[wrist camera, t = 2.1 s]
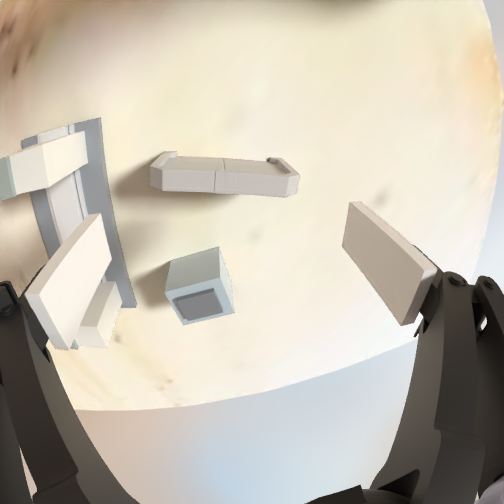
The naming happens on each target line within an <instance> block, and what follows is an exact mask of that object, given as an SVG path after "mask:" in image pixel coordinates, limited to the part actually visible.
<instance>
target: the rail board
mask: <svg viewBox="0 0 504 504" xmlns="http://www.w3.org/2000/svg"><path fill="white" fill-rule="evenodd" d="M81 131H85V141H86V150H87V158H88V163H87V164H85V165H83V166H82V167H80V168H78V169H77V170H75V171H73V172H72V173H70V174H69V175H67V176H65V177H64V178H62V179H61V180H59V181H58V182H56V183H55V184H53V185H52V186H50V187H48V188H43V189H39V190H34V191H30V194H31V198H32V202H33V206H34V210H35V214H36V218H37V221H38V225H39V228H40V231H41V235H42V238H43V241H44V244H45V247H46V250H47V253H48V255H49V258H50V259H51V257H52V256H53V255H54V254H55V252H56V251H57V250H58V249H59V248H60V246H61V245H62V244H63V243H64V242H65V240H66V239H67V238H68V237H69V236H70V235H71V234H72V232H73V231H74V230H75V229H76V228H77V227H78V226H79V225H80V224H81V222H82V221H83V220H84V219H85V218H86V217H87V216H88V215H91V214H99V213H101V216H102V221H103V225H104V230H105V234H106V238H107V242H108V246H109V250H110V254H111V258H112V260H111V261H110V263H109V265H108V267H107V269H106V271H105V273H104V275H103V277H102V279H101V281H100V283H99V285H100V284H101V282H103V283H106V282H107V281H115V282H116V285H117V288H118V291H119V294H120V297H121V300H122V305H121V308H136V305H137V303H136V299H135V296H134V293H133V290H132V286H131V283H130V279H129V276H128V272H127V269H126V265H125V261H124V257H123V253H122V249H121V245H120V241H119V237H118V232H117V228H116V223H115V218H114V213H113V208H112V203H111V197H110V191H109V185H108V179H107V172H106V164H105V156H104V148H103V138H102V126H101V118H96V119H92V120H87V121H83V122H79V123H76V124H72V125H68V126H64V127H61V128H57V129H54V130H51V131H48V132H44V133H41V134H39V135H36V136H33V137H30V138H27V139H24V140H22V141H21V142H22V149H24V148H27V147H29V146H32V145H35V144H38V143H42V142H45V141H48V140H52V139H55V138H59V137H62V136H66V135H69V134H73V133H77V132H81Z"/></svg>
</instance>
